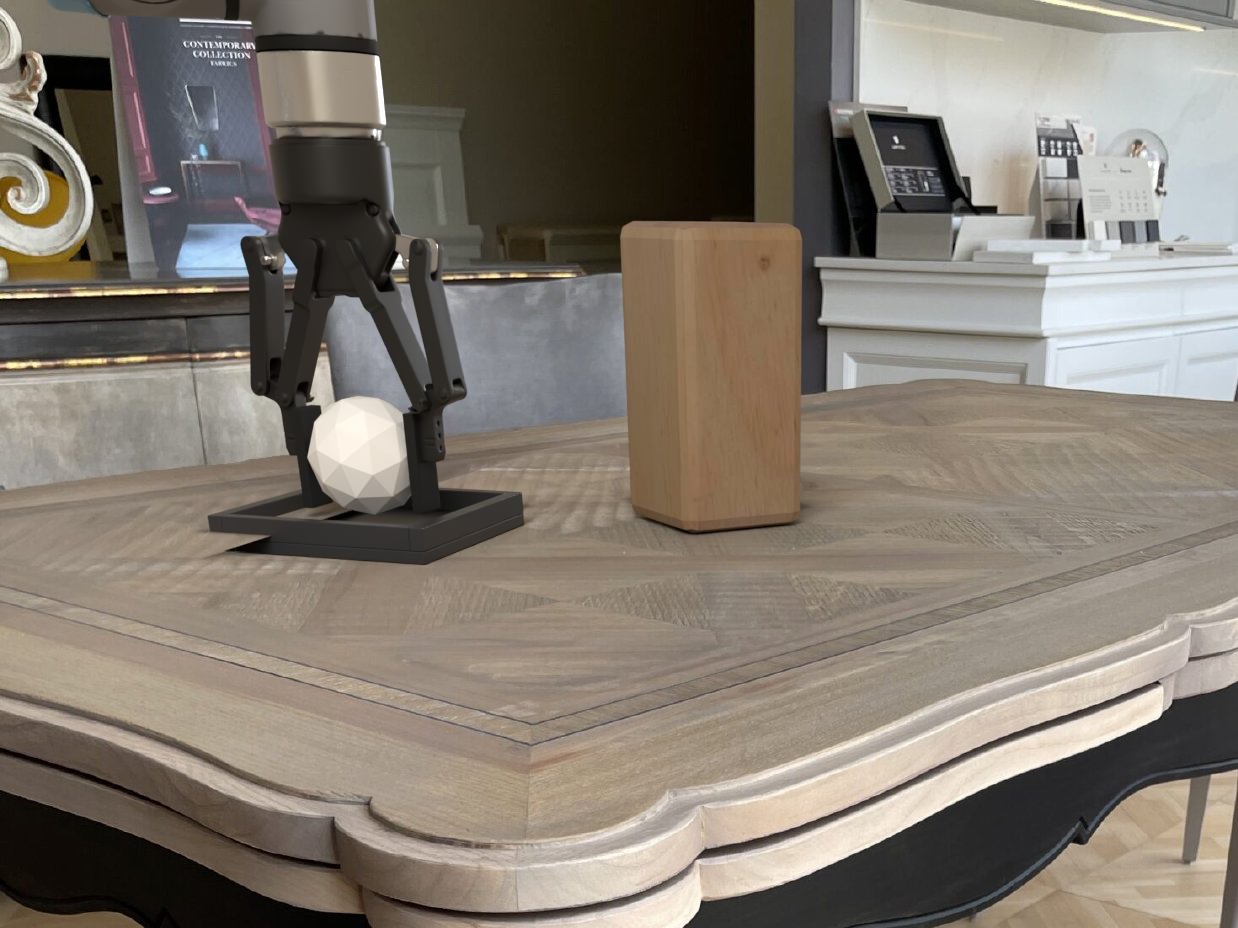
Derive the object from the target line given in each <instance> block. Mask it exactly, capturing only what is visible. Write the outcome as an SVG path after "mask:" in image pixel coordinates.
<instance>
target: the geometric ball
mask: <svg viewBox="0 0 1238 928" xmlns="http://www.w3.org/2000/svg"><path fill="white" fill-rule="evenodd" d="M321 412H322V414H321V415H320V416H319V417H318V418H317V420H316V421H315V422H314V426H313V431H312V437H311V442H310V447H309V452H308V457H307V458H308V460H309V462H310V465H311V467H312V469H313V471H314V473H315V475H316V477H317V480H318V482H319V484H320V486H321V488H322V490H323V492H324V493H326V494H327V495H328V496H329V497H331V498H332V499H333V502H336V504H338V505H339V506H340V507H342V508H343V509H348V510H349V511H351V510H354V511H359V512H363V513H368V514H373V515H376V514H379V513H382V512H385V511H387V510H390V509H393V508H396V507H399V506H402V505H404V504H405V503H406V501H407V500H408V499H409V497H410V496H411V488H410V479H409V470H408V461H407V451H406V442H405V433H404V424H403V414H404V412H402V411H400V410H398V409H397V408H396V407H395V406H393V405H392V403H389V402H388V401H385V400H383V399H381V398H377V397H371V396H363V395H355V396H351V397H347V398H342V399H339V400H337V401H335V402H333V403H331V404H327V406H326V408H325V409H324V410H323V411H321Z"/></svg>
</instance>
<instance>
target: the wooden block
mask: <svg viewBox="0 0 1238 928" xmlns="http://www.w3.org/2000/svg"><path fill="white" fill-rule="evenodd" d="M619 239H620V241H619V242H620V243H619V245H620V260H621V261H620V265H621V289H622V290H621V291H622V312H623V313H622V314H623V315H622V316H623V335H624V336H623V339H624V341H623V342H624V359H625V360H624V362H625V364H624V365H625V386H626V388H625V389H626V412H627V431H628V432H627V435H628V437H627V438H628V459H629V460H628V463H629V483H630V486H629V487H630V504H631V506H632V510H633V512H634V513H635V514H636V515H639V516H641V517H643V518H646V519H650V520H653V521H655V522H659V523H662V524H664V525H668V526H671V527H674V528H677V529H680V530H682V531H686V532H689V533H691V534H700V533H709V532H719V531H720V532H722V531H731V530H732V531H733V530H739V529H740V530H742V529H752V528H761V527H772V526H781V525H788V524H789V523H792V522H794V521H796V520H798V518H799V516H800V512H801V443H802V441H801V438H802V437H801V434H802V433H801V432H802V431H801V429H802V427H801V425H802V422H801V421H802V323H803V322H802V321H803V320H802V319H803V318H802V315H803V314H802V311H803V309H802V307H803V306H802V305H803V294H802V293H803V289H802V288H803V238H802V234H801V230H800V229H799V228H797V227H795V226H794V225H792V224H790V223H789V222H757V221H756V222H754V221H752V222H750V221H749V222H748V221H686V220H685V221H681V220H680V221H679V220H678V221H676V220H675V221H672V220H670V221H669V220H667V221H665V220H661V221H659V220H655V221H654V220H644V221H643V220H633V221H630V222H628V223H627V224H625V225H623V226H622V227H621V231H620V236H619Z"/></svg>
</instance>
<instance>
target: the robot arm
mask: <svg viewBox="0 0 1238 928" xmlns="http://www.w3.org/2000/svg"><path fill="white" fill-rule="evenodd" d="M43 1H44V2H45V3H46V4H47V5H48V6H49V7H50V8H53V9H54V10H56V11H60V12H67V13H68V12H69V13H78V14H80V13H81V14H88V15H89V14H90V15H93V16H97V17H100V18H101V19H110V18H111V16H119V17H120V16H121V17H145V18H146V17H149V18H150V17H151V18H177V19H178V18H179V19H182V18H183V19H218V20H219V19H220V20H222V19H223V20H224V21H249V22H250V24H251V27H252V28H251V29H252V32H253V36H254V47H255V53H256V62H257V70H258V78H259V86H260V95H261V102H262V109H263V110H262V111H263V116H264V117H263V118H264V123H265V124H266V126H268V128H271V129H275V130H276V131H275V132H276V137H277V138H272V139H270V142H271V144H268V151H269V160H270V165H271V174H272V181H273V190H274V196H275V198H276V200H277V202H278V206H279V208H280V221H279V225H278V228H277V232H274V233H270V234H265V235H244V236H243V237H241V239H240V243H239V245H240V250H241V253H242V257H243V261H244V264H245V268H246V271H247V274H248V310H249V313H248V314H249V317H248V318H249V371H250V373H249V374H250V375H249V376H250V377H249V378H250V379H249V380H250V381H249V383H250V389H251V391H252V393H253V394H254V395H255V396H258V397H265V398H267V399H269V400H272V401H273V402H275V403H276V404H277V405H278V408H279V409H280V414H281V422H282V428H283V432H284V438H285V439H284V441H285V448H286V451H287V452H288V455H289V456H293V457H296V459H297V466H298V474H299V481H300V487H301V489H302V496H303V503H304V508H303V509H316V508H319V507H323V506H326V505H329V504H332V503H334V500H333V499H332V498H331V497H329V496H328V495H327V494H326V493H324V492H323V490H322V488H321V486H320V484H319V482H318V480H317V477H316V475H315V473H314V471H313V469H312V467H311V465H310V462H309V460H308V458H307V457H308V452H309V447H310V442H311V437H312V431H313V426H314V422H315V421H316V420H317V418H318V417H319V416H320V415H321V414H322V412H323V411H322V406H321V404H309V405H307V404H308V403H312V402H313V401H314V400H315V396H312V395H311V391H312V387H313V383H314V379H315V373H316V369H317V364H318V359H319V355H320V351H321V347H322V342H323V337H324V332H325V328H326V323H327V319H328V315H329V311H330V309H331V308H332V307H333V305H334V303H335V300H336V297H342V296H343V297H344V296H345V297H348V298H355V299H356V298H357V299H358V298H359V301H360V303H361V305H362V307H363V308H364V310H365V311H366V312H368V313H369V314H370V316H371V318H372V321H373V323H374V325H375V327H376V329H377V331H378V334H379V337H380V339H381V340H382V342H383V343H382V344H383V345H384V347H385V349H386V352H387V354H388V355H389V358H390V361H391V362H392V365H393V367H394V369H395V372H396V373H397V375H398V377H399V380H400V382H401V385H402V387H403V389H404V391H405V393H406V395H407V398H408V400H409V402H410V404H411V405H410V406H409V407H408V408H407V410H408V412H403V424H404V433H405V442H406V451H407V461H408V470H409V479H410V488H411V498H412V507H413V514H421V515H423V514H426V513H429V512H432V511H435V510H438V509H440V508H441V506H440V496H439V488H440V485H439V477H438V467H437V462H441V461H444V460H445V459H446V458H445V457H446V455H447V450H446V449H447V448H446V439H445V429H444V419H443V414H444V413H443V412H444V409H445V408H446V407H447V406H449V405H452V404H454V403H456V402H459V401H463V400H464V399H465V398H466V397H467V396H468V386H467V383H466V379H465V374H464V370H463V365H462V361H461V357H460V352H459V347H458V344H457V338H456V334H455V330H454V326H453V321H452V317H451V313H450V310H449V308H450V307H449V304H448V299H447V295H446V291H445V285H444V282H443V268H444V267H443V266H444V265H443V264H444V245H443V243H442V241H441V240H440V239H439V238H437V237H416V236H412V235H408V234H404V233H403V231H402V229H401V227H400V225H399V224H398V221H397V219H396V217H395V214H394V204H395V189H394V178H393V170H392V161H391V151H390V146H387V144H386V141H385V140H380V138H379V131H383V130H384V128H385V127H386V126H387V116H386V107H385V106H386V105H385V99H384V88H383V79H382V68H381V60H380V57H379V55H380V53H379V45H378V35H377V23H376V14H375V13H376V12H375V1H374V0H43ZM285 255H286V256H287V257H288V259H289V260H290V262H291V263H292V265H293V266H294V267H295V269H296V273H295V274H296V275H295V279H294V284H293V289H292V294H291V301H292V302H293V308H292V313H291V317H290V322H289V327H288V332H287V335H286V330H285V329H286V327H285V326H286V319H285V317H286V315H285V314H286V313H285V312H286V311H285V310H286V308H285V306H286V305H285V301H286V300H285V299H286V298H285V291H286V290H285V288H286V287H285V275H284V274H285V273H284V269H283V268H284V267H285V265H286V263H287V257H286V256H285ZM399 256H400V257H401V259H402V261H401V263H402V264H401V265H402V267H403V268H404V269H405V270H406V272H408V284H409V288H410V294H411V298H412V302H413V306H414V310H415V315H416V319H417V324H418V329H419V333H420V336H421V340H422V345H423V348H422V346H421V344H420V342H419V340H418V337H417V335H416V333H415V330H414V328H413V325H412V324H411V321H410V319H409V317H408V315H407V312H406V311H405V309H404V306H403V296H402V293H401V291H400V288H399V286H398V284H397V282H396V280H395V277H394V276H393V273H392V269H393V268H394V266H395V264H396V261H397V260H398V257H399ZM286 336H287V337H286ZM285 337H286V338H285ZM423 349H424V351H423Z"/></svg>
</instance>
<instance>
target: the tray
mask: <svg viewBox="0 0 1238 928" xmlns="http://www.w3.org/2000/svg"><path fill="white" fill-rule="evenodd" d="M439 496H440V506H441V508H440V509H438V510H435V511H432V512H429V513H426V514H423V515H421V514H413V507H412V498H411V496H410V497H409V499H408V500H407V501H406V503H405V504H404V505H402V506H399V507H396V508H393V509H390V510H387V511H385V512H382V513H379V514H376V515H373V514H368V513H363V512H359V511H354V510H347V511H344V512H341V513H338V514H335V515H332V516H329V517H326V518H321V519H317V518H302V517H283V515H286V514H289V513H292V512H295V511H298V510H299V511H300V510H303V509H305V508H304V503H303V496H302V489H297V490H294V491H290V492H287V493H283V494H279V495H276V496H271V497H268V498H265V499H262V500H258V501H254V502H250V503H247V504H244V505H240V506H236V507H233V508H228V509H225V510H222V511H219V512H215V513H211V514H207V523H208V528H209V532H210V533H224V534H225V533H226V534H239V535H240V534H242V535H256V536H266V537H263V538H259V539H257V540H253V541H249V542H246V543H243V544H241V545H237V546H235V547H231V548H228V549H225V550H224V552H231V553H232V552H234V553H247V554H248V553H249V554H250V553H251V554H261V555H263V554H264V555H278V556H292V557H306V558H307V557H309V558H320V559H321V558H325V559H337V560H352V561H366V562H367V561H368V562H381V563H382V562H383V563H397V564H412V565H427V564H430V563H432V562H435V561H437V560H439V559H441V558H444V557H447V556H450V555H452V554H454V553H457V552H460V551H461V550H464V549H467V548H469V547H471V546H474V545H476V544H478V543H481V542H484V541H486V540H489V539H491V538H493V537H496V536H499V535H501V534H503V533H506V532H509V531H510V530H514V529H515V528H518V527H522V526H524V525H525V514H524V502H523V501H524V499H523V492H522V491H509V490H494V489H493V490H491V489H474V488H455V487H439Z"/></svg>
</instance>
